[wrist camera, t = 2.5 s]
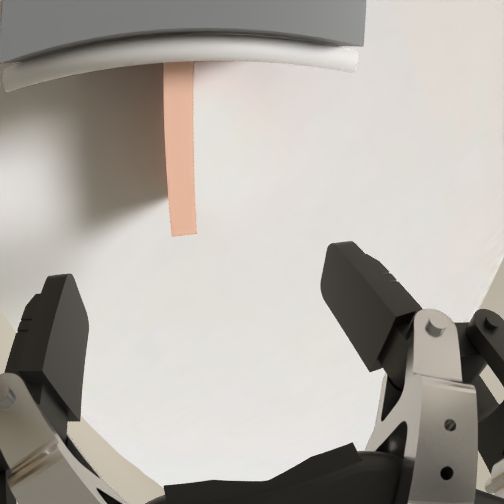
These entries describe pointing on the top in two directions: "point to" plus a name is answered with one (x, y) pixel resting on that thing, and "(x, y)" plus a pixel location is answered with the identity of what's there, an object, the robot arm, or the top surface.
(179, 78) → the ticket strip
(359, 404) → the top surface
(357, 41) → the dispenser
